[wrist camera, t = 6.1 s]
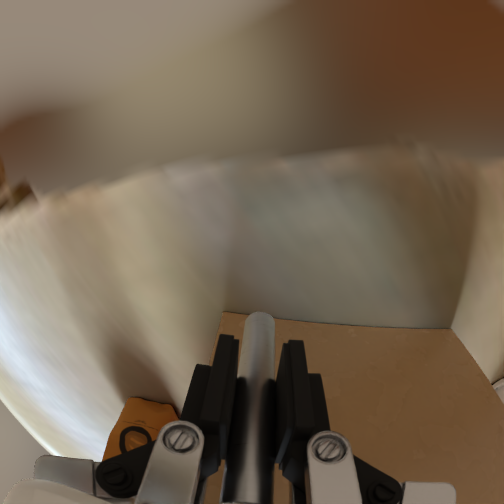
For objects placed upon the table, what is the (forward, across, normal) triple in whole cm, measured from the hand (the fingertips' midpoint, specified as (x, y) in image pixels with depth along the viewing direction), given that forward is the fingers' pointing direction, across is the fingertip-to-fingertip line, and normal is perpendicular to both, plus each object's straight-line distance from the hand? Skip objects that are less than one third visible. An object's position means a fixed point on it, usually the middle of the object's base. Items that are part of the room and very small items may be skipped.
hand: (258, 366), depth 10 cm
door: (+14, -10, +5) cm, 18 cm away
